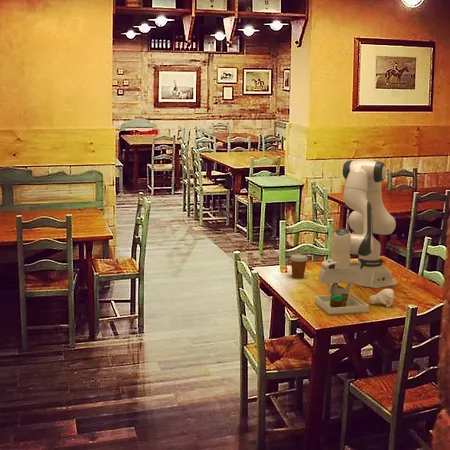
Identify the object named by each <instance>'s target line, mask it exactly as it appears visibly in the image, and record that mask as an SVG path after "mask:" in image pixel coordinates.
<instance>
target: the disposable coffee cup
mask: <svg viewBox="0 0 450 450" xmlns="http://www.w3.org/2000/svg"><path fill="white" fill-rule="evenodd" d="M289 259H290V264H291V265H290V266H291V267H290V268H291V276H292V278H293V279H297V280H299V279H301V280H302V279H304V276H305V272H306V265H307V261H308V256H307V255H305V254H301V253H294V254H291V256H290V258H289Z"/></svg>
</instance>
